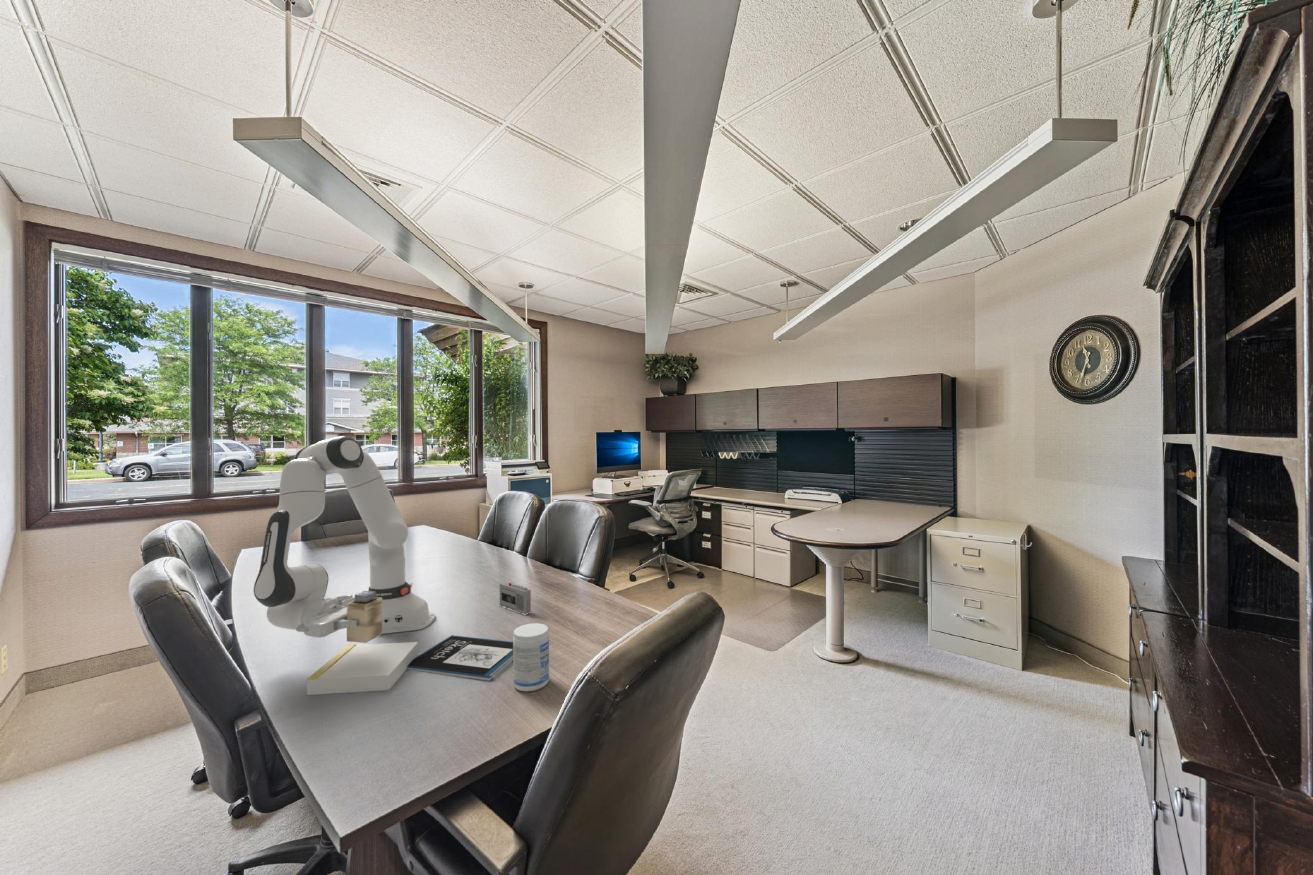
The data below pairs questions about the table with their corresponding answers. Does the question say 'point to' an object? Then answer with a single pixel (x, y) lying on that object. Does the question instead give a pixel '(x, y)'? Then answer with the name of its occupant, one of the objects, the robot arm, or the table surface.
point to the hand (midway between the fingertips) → (367, 618)
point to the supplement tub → (531, 657)
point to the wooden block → (365, 620)
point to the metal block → (365, 597)
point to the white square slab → (363, 668)
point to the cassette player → (515, 597)
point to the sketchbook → (466, 658)
